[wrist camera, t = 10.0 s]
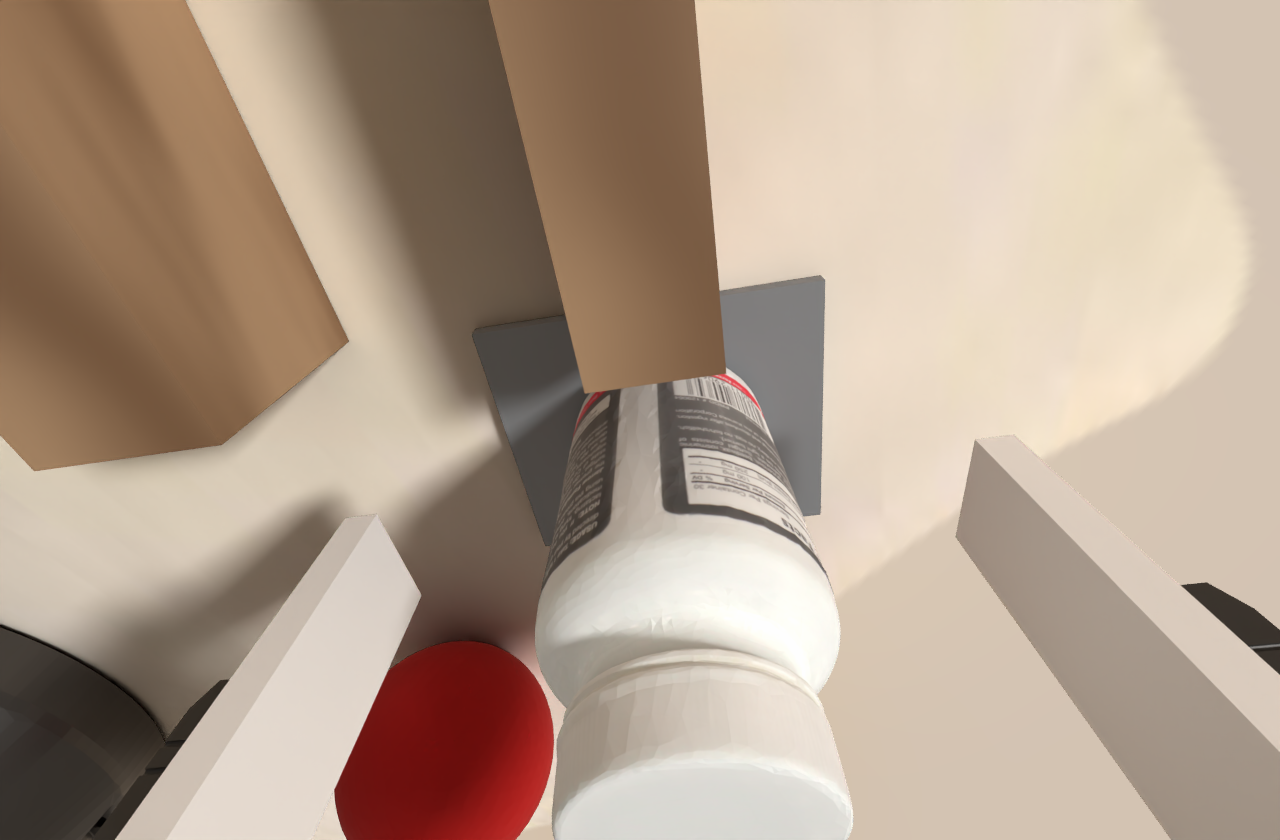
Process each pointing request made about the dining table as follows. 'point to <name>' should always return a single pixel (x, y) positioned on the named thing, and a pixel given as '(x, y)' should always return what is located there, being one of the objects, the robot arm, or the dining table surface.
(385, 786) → the christmas ornament
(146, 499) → the dining table surface
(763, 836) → the pill bottle
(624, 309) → the block
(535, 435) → the pad
